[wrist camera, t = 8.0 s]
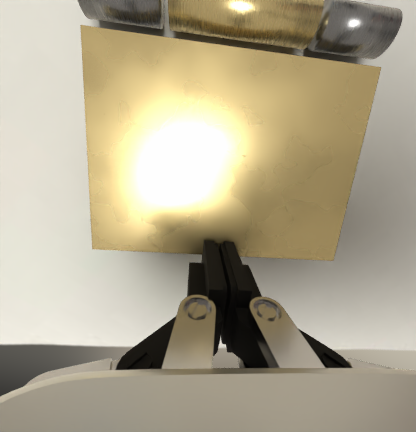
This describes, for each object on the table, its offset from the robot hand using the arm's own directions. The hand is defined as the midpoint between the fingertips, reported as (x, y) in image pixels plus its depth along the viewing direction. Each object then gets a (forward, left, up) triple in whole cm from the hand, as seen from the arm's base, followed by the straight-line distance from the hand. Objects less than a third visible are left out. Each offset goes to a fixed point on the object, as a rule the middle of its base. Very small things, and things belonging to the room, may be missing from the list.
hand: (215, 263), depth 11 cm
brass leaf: (0, -7, -2) cm, 7 cm away
